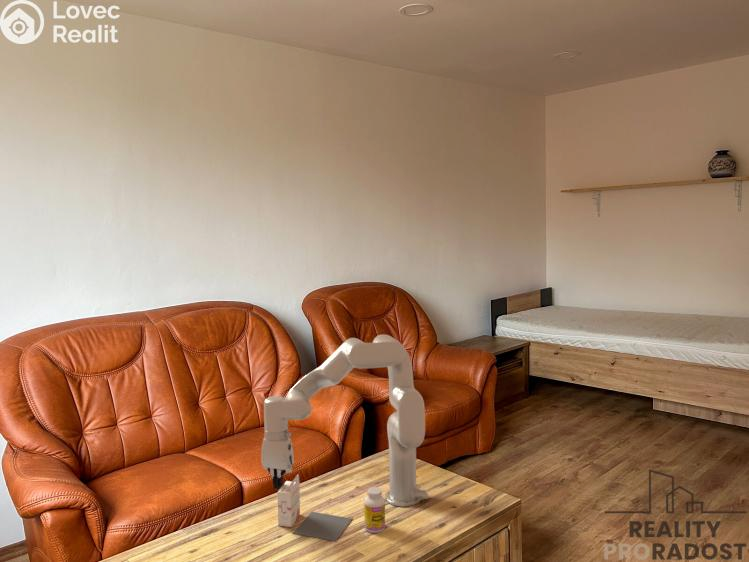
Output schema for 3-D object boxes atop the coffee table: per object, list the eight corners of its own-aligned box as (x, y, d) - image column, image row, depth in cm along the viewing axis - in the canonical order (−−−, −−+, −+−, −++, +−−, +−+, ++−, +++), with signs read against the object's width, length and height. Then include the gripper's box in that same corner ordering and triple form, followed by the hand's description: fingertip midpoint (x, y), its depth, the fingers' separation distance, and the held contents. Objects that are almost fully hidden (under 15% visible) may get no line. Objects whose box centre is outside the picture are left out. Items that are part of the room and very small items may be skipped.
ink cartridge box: (286, 512, 196) (286, 471, 194) (300, 514, 195) (300, 473, 193) (277, 526, 188) (276, 483, 186) (291, 527, 187) (291, 484, 185)
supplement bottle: (370, 536, 181) (369, 497, 180) (361, 526, 187) (360, 488, 186) (388, 530, 184) (388, 492, 183) (379, 521, 190) (378, 484, 189)
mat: (352, 519, 191) (352, 518, 191) (336, 541, 178) (335, 540, 178) (311, 512, 196) (311, 511, 196) (292, 533, 183) (292, 532, 183)
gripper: (301, 432, 191) (303, 485, 192) (262, 427, 195) (264, 479, 197) (291, 440, 183) (292, 495, 185) (250, 435, 188) (252, 489, 190)
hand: (278, 487), depth 191 cm, fingers closed
